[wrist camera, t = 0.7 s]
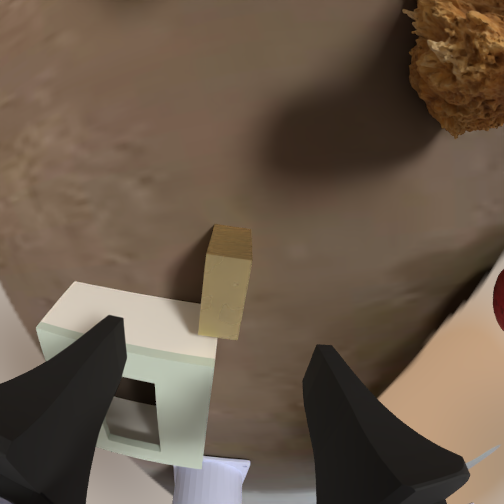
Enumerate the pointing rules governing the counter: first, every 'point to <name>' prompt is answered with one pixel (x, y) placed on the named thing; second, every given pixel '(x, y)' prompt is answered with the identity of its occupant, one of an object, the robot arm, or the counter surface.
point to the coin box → (145, 369)
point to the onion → (499, 299)
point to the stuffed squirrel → (460, 62)
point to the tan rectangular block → (225, 282)
